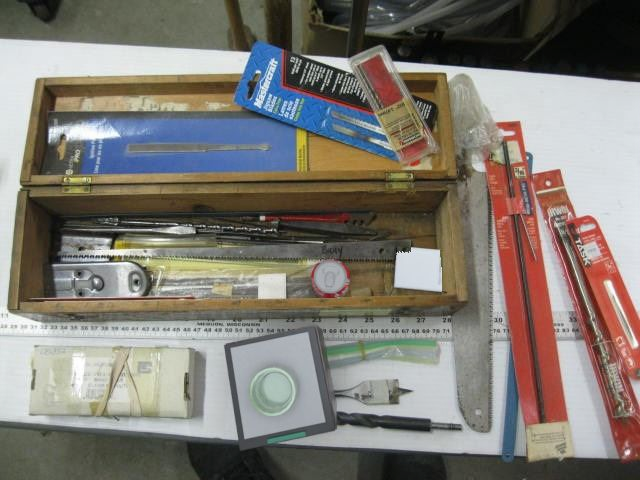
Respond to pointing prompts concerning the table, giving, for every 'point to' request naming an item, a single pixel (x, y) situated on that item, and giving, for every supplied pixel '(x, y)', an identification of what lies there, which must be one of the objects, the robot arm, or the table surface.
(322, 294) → the soda can
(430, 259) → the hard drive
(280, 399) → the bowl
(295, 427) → the scale
